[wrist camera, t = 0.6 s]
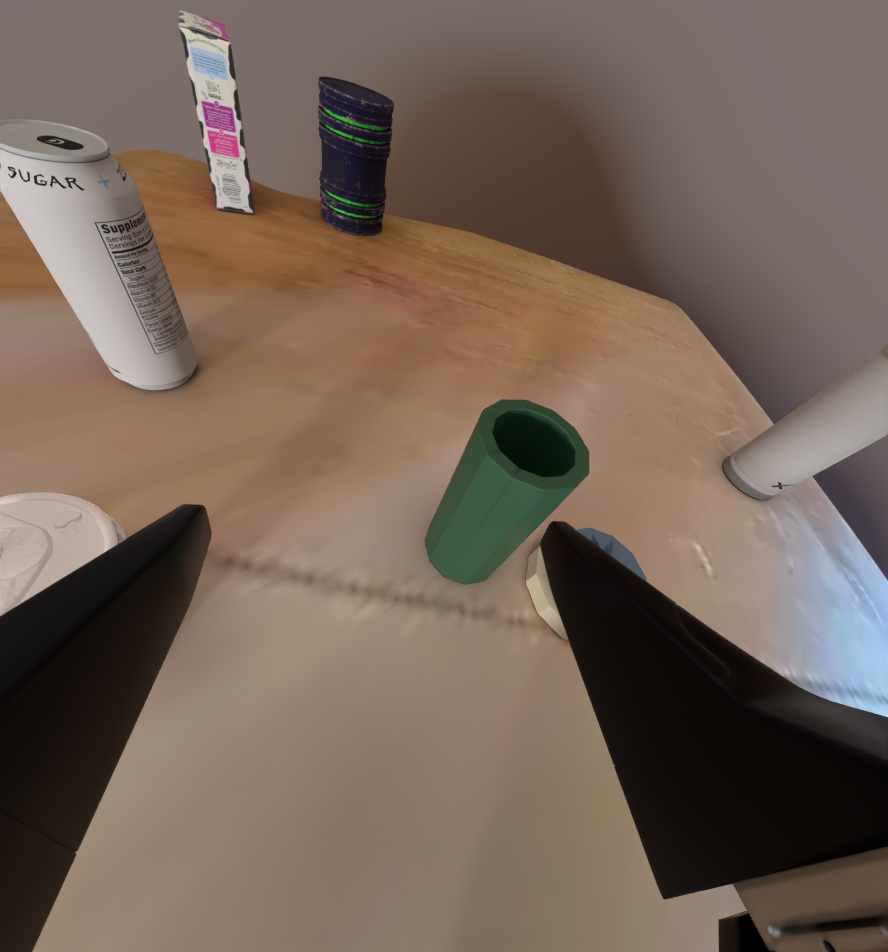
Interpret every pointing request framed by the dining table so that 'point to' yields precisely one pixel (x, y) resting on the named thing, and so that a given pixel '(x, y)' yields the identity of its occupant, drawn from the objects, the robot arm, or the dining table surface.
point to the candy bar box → (218, 110)
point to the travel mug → (816, 432)
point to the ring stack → (540, 582)
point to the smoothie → (48, 541)
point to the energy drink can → (97, 248)
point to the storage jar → (353, 155)
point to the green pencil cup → (504, 487)
